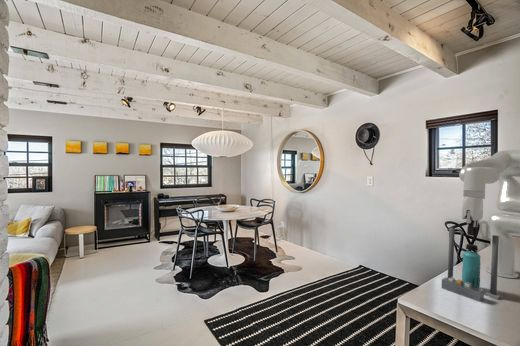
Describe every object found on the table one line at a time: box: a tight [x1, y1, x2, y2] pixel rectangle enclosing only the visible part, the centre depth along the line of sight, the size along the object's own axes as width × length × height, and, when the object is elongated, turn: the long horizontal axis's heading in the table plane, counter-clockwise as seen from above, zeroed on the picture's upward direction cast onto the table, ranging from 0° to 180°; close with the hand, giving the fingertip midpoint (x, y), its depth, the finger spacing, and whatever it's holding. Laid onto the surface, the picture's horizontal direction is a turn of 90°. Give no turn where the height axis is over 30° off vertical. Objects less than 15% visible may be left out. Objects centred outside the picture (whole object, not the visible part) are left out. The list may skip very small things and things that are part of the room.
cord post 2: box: [484, 235, 502, 300], centre depth 111 cm, size 4×4×26 cm
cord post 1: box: [446, 227, 457, 281], centre depth 124 cm, size 4×4×26 cm
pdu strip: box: [441, 276, 485, 303], centre depth 113 cm, size 4×14×5 cm, turn 32°
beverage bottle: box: [461, 243, 482, 288], centre depth 117 cm, size 6×7×20 cm
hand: (472, 235), depth 117 cm, fingers closed
